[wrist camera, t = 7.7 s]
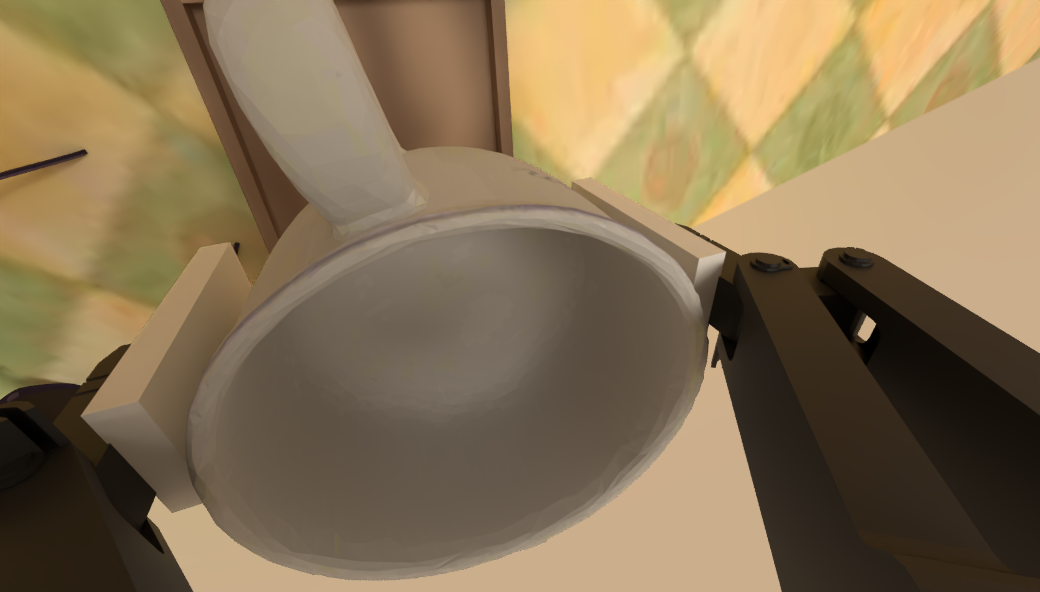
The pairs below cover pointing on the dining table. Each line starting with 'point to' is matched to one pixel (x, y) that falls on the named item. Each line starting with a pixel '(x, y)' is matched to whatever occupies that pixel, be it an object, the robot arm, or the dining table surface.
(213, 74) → the tray
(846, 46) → the dining table surface
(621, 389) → the teacup
